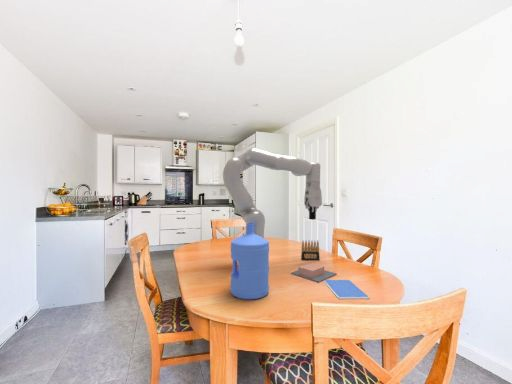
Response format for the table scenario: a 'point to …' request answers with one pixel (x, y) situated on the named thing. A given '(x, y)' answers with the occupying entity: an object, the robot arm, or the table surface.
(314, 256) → the ammunition clip
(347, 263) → the table surface
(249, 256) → the water jug
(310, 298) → the table surface
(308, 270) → the brown rectangular block
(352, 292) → the blue notebook
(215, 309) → the table surface
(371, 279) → the table surface
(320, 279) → the mat
